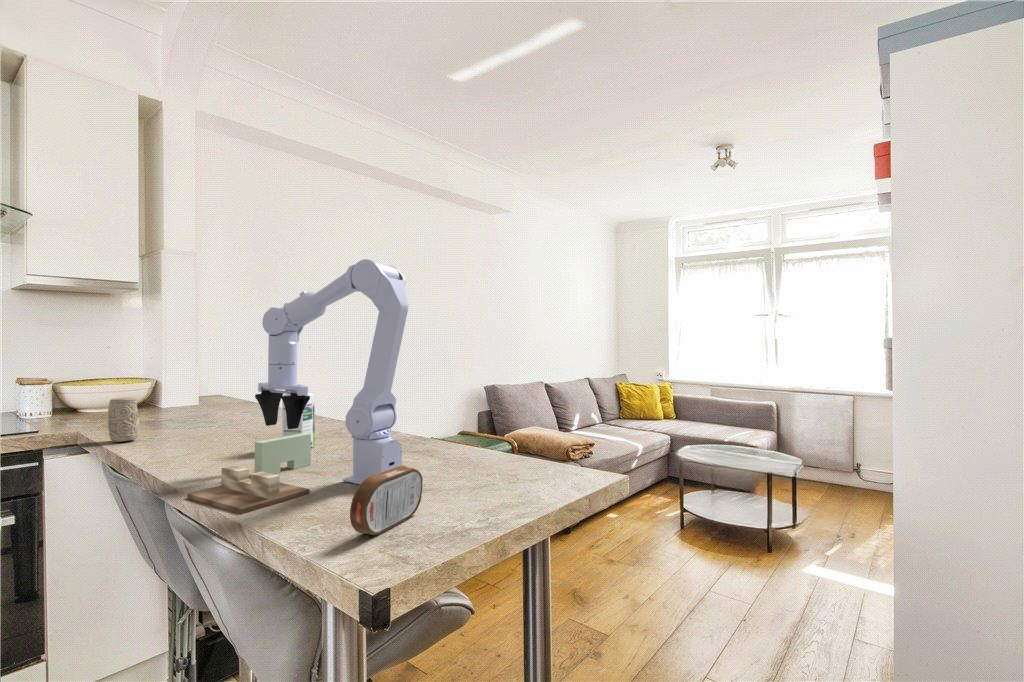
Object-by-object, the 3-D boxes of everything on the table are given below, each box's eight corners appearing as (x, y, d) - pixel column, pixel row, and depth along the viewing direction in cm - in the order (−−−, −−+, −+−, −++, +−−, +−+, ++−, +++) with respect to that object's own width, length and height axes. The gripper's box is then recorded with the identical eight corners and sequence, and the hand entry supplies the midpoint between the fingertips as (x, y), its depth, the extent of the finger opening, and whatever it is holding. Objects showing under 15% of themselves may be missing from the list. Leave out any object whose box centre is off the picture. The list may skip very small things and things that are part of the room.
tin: (410, 509, 85) (410, 459, 85) (426, 512, 83) (426, 461, 83) (347, 541, 71) (348, 481, 71) (365, 545, 70) (366, 484, 70)
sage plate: (303, 463, 115) (303, 433, 115) (310, 465, 114) (310, 434, 114) (254, 475, 105) (254, 441, 105) (261, 477, 104) (262, 443, 104)
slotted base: (309, 493, 93) (309, 469, 93) (241, 513, 82) (242, 486, 82) (255, 481, 101) (255, 459, 101) (187, 498, 89) (187, 473, 89)
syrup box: (301, 451, 128) (302, 394, 128) (281, 450, 129) (281, 393, 129) (315, 447, 134) (315, 392, 134) (295, 446, 135) (295, 391, 135)
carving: (120, 439, 142) (121, 396, 142) (145, 439, 141) (146, 397, 141) (100, 443, 136) (101, 399, 136) (126, 444, 135) (127, 399, 135)
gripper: (245, 363, 110) (244, 426, 110) (287, 366, 102) (286, 432, 102) (274, 362, 116) (274, 421, 116) (316, 364, 108) (315, 428, 108)
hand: (281, 426), depth 109 cm, fingers open, 7 cm apart
